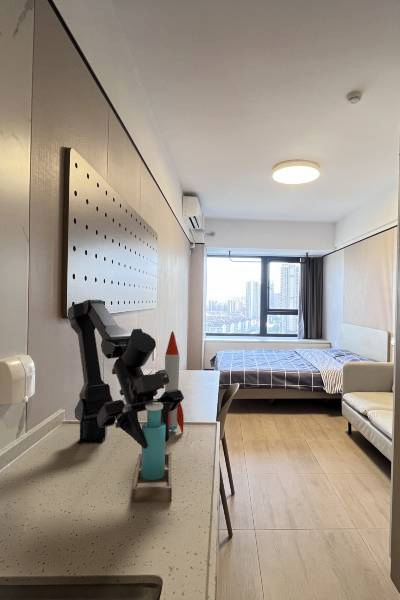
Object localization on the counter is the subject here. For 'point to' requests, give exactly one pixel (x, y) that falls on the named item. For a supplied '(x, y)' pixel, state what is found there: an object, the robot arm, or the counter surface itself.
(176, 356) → the toy rocket
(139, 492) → the caddy
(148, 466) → the bottle
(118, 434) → the counter surface
